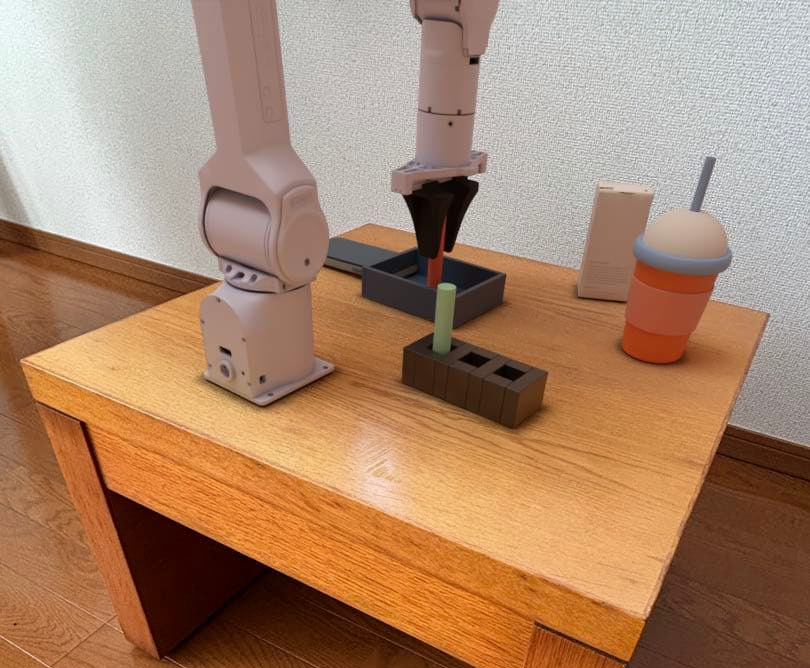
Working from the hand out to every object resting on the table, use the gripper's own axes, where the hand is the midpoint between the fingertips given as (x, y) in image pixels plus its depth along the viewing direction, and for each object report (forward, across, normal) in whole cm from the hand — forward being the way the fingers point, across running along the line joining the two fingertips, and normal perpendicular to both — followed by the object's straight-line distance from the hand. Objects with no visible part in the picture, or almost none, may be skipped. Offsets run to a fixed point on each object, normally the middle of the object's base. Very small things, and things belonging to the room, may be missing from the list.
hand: (435, 253), depth 74 cm
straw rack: (+5, -16, -16) cm, 23 cm away
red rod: (+5, 0, 0) cm, 5 cm away
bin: (+5, 0, 0) cm, 5 cm away
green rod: (+5, -16, -12) cm, 21 cm away
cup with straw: (+5, +5, -25) cm, 26 cm away
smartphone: (+5, +2, +13) cm, 14 cm away
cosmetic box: (+5, +16, -14) cm, 22 cm away
